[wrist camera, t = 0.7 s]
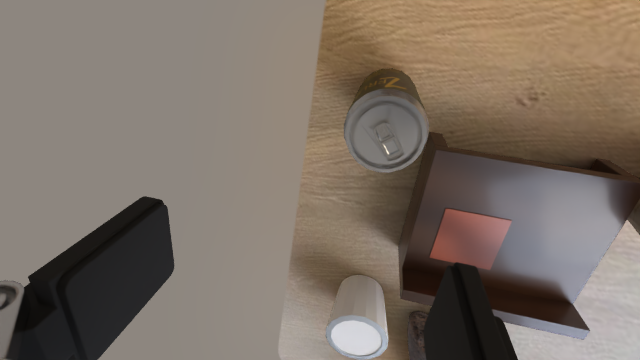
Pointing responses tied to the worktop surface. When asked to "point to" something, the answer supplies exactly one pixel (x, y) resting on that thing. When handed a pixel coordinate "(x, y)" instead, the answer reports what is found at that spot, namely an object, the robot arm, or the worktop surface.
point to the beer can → (386, 122)
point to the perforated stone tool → (416, 335)
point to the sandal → (635, 217)
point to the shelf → (513, 230)
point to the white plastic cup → (358, 319)
